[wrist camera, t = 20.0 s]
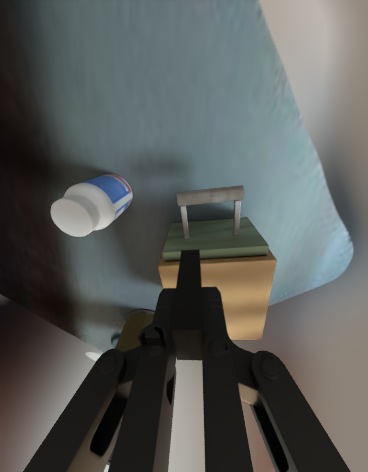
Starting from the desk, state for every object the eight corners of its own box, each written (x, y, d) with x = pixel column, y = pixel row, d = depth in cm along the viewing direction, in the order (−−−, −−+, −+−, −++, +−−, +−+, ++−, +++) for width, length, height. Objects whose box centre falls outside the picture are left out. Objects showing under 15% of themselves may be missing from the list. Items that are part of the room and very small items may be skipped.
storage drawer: (164, 185, 22) (150, 202, 15) (250, 175, 21) (277, 189, 14) (182, 286, 31) (178, 325, 24) (242, 283, 30) (256, 324, 23)
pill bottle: (93, 172, 23) (31, 188, 14) (130, 173, 22) (90, 190, 14) (102, 209, 25) (54, 241, 17) (135, 210, 25) (104, 243, 16)
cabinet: (169, 228, 26) (157, 266, 18) (249, 221, 25) (277, 259, 16) (181, 291, 33) (176, 339, 25) (244, 288, 32) (261, 339, 23)
